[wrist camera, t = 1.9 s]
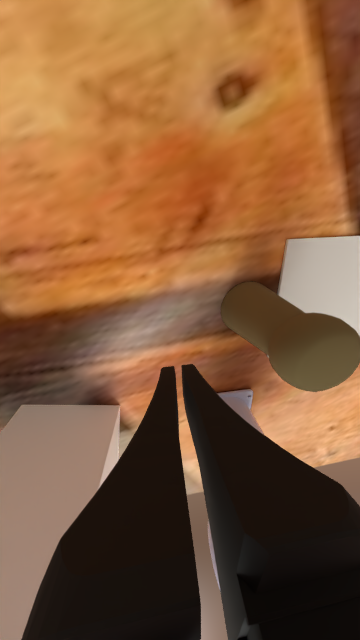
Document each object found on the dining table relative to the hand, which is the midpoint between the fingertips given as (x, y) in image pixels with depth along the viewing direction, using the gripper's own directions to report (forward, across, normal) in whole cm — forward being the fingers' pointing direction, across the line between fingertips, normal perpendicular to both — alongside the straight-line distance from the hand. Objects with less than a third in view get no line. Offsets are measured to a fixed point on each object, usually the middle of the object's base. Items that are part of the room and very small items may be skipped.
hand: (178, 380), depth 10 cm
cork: (+11, -9, 0) cm, 14 cm away
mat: (+10, -19, 0) cm, 22 cm away
